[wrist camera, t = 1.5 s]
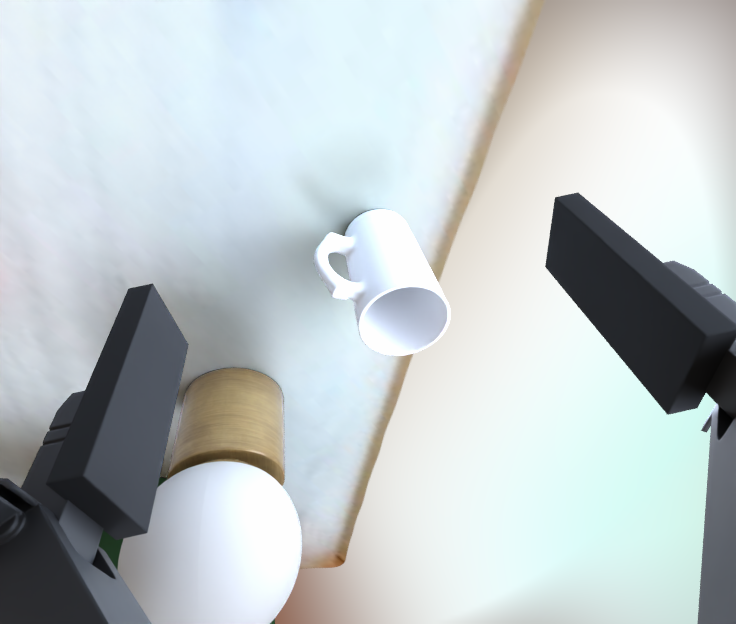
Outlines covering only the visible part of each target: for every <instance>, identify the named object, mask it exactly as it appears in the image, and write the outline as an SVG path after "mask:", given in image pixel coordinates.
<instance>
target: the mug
mask: <svg viewBox="0 0 736 624" xmlns="http://www.w3.org/2000/svg"><path fill="white" fill-rule="evenodd" d="M332 252H334V253H339V254H342V255H344V256H346V262H347V267H348V273H349V278H350V281H348V280H345V279H343V278H342V277H340V276H339V275H338V274H337V273H336V272H335V271H334V270H333V269H332V268H331V266H330V265H329V262H328V254H329V253H332ZM314 264H315V268H316V270H317V272H318V274H319V276H320V278H321V279H322V281H323V282H324V284H325V285H326V286H327V288H328V289H329V291H330V293H331V297H332V298H337V299H342V300H346V299H347V298H349V299H351V300H353V301H354V307H355V313H356V318H357V323H358V329H359V334H360V336H361V338H362V340H363V342H364V343H365V344H366V345H367V346H368V347H369V348H371V349H372V350H374V351H376V352H378V353H381V354H385V355H391V356H402V355H409V354H413V353H416V352H419V351H421V350H423V349H425V348H427V347H429V346H431V345H432V344H433V343H435V342H436V341H437V340H438V339H439V338H440V337H441V336H442V335H443V334H444V332H445V330H446V329H447V327H448V324H449V321H450V307H449V304H448V302H447V300H446V299H445V297H444V294H443V292H442V290H441V288H440V286H439V284H438V282H437V280H436V278H435V276H434V274H433V272H432V271H431V269H430V267H429V265H428V263H427V261H426V259H425V257H424V255H423V253H422V251H421V249H420V247H419V245H418V243H417V241H416V239H415V238H414V236H413V234H412V232H411V230H410V228H409V226H408V224H407V223H406V221H405V220H404V219H403V218H402V217H401V216H400V215H398V214H397V213H395V212H393V211H390V210H385V209H375V210H370V211H367V212H365V213H363V214H361V215H359V216H358V217H356V218H355V219H354V220H353V221H352V222H351V223H350V225H349V226H348V228H347V230H346V233H345V236H341V235H339V234H336V233H332V232H330V233H328V234H327V235H326V237H325V238H324V239H323V241H322V242H321V243H320V244H319V246H318V247H317V249H316V251H315V254H314Z"/></svg>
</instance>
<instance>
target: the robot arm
mask: <svg viewBox="0 0 736 624" xmlns="http://www.w3.org/2000/svg"><path fill="white" fill-rule="evenodd" d="M545 267H546V268H547V269H548V270H549V272H550V273H551V274H552V275H553V277H554V278H555V279H556V280H557V281H558V283H559V284H560V285H561V286H562V288H563V289H564V290H565V291H566V292H567V294H568V295H569V296H570V297H571V298H572V300H573V301H574V302H575V303H576V304H577V306H578V307H579V308H580V309H581V310H582V312H583V313H584V314H585V315H586V316H587V318H588V319H589V320H590V321H591V323H592V324H593V325H594V326H595V327H596V329H597V330H598V331H599V332H600V333H601V335H602V336H603V337H604V338H605V339H606V341H607V342H608V343H609V344H610V346H611V347H612V348H613V349H614V350H615V351H616V353H617V354H618V355H619V356H620V358H621V359H622V360H623V361H624V362H625V363H626V365H627V366H628V367H629V368H630V370H632V372H633V373H634V375H635V376H636V377H637V378H638V379H639V381H640V382H641V383H642V384H643V385H644V387H646V389H647V390H648V391H649V393H650V394H651V395H652V396H653V397H654V399H655V400H656V401H657V402H658V403H659V405H660V406H661V407H662V408H663V410H664V411H665V412H666V413H667V414H673V413H677V412H682V411H686V410H690V409H695V408H697V407H698V406H699V404H700V402H701V400H702V398H703V397H704V395H705V393H707V394H708V395H709V396H710V397H711V398H712V399H713V400H714V401H715V402H716V405H715V407H714V408H713V410H712V412H711V413H710V415H709V417H708V418H707V420H706V422H705V424H704V426H703V428H702V431H704V432H707V431H708V429H709V428H710V426H711V435H710V451H709V465H708V466H709V467H708V480H707V495H706V509H705V524H704V539H703V554H702V568H701V583H700V598H699V612H698V624H736V302H735V301H733V300H732V299H731V298H730V297H728V296H727V295H726V294H722V293H721V290H719V289H718V288H717V287H716V286H714V285H713V284H709V281H708V280H706V279H705V278H704V277H703V276H702V275H700V274H699V273H697V272H696V271H695V270H694V269H691V268H689V267H687V266H684V265H682V264H680V263H678V262H675V261H670V262H665V263H662V262H661V261H660V260H659V259H657V258H656V257H655V256H654V255H653V254H651V253H650V252H649V251H648V250H646V249H645V248H644V247H643V246H642V245H640V244H639V243H638V242H637V241H636V240H634V239H633V238H632V237H631V236H629V235H628V234H627V233H626V232H625V231H624V230H622V229H621V228H620V227H619V226H617V225H616V224H615V223H614V222H613V221H611V220H610V219H609V218H608V217H607V216H605V215H604V214H603V213H602V212H601V211H600V210H598V209H597V208H596V207H595V206H593V205H592V204H591V203H590V202H589V201H588V200H586V199H585V198H584V197H583V196H581V195H580V194H579V193H574V194H569V195H565V196H560V197H556V198H555V202H554V209H553V216H552V224H551V230H550V238H549V245H548V252H547V259H546V266H545ZM187 349H188V343H187V341H186V340H185V338H184V336H183V334H182V333H181V331H180V329H179V328H178V326H177V324H176V323H175V321H174V319H173V317H172V316H171V314H170V312H169V311H168V309H167V307H166V306H165V304H164V302H163V300H162V299H161V297H160V295H159V294H158V292H157V290H156V289H155V287H154V285H153V284H149V285H144V286H139V287H135V288H130V289H128V291H127V294H126V296H125V298H124V301H123V303H122V305H121V308H120V310H119V312H118V315H117V317H116V320H115V322H114V324H113V327H112V329H111V331H110V334H109V336H108V338H107V341H106V343H105V345H104V348H103V350H102V352H101V355H100V357H99V359H98V362H97V364H96V366H95V369H94V371H93V374H92V376H91V378H90V381H89V383H88V385H87V388H86V390H85V391H82V392H77V393H73V394H71V396H70V397H69V398H68V399H67V400H66V401H65V402H64V404H63V405H62V406H61V407H60V408H59V409H58V411H57V413H56V415H55V417H54V419H53V421H52V423H51V425H50V428H49V429H50V431H48V432H47V434H46V436H45V438H44V440H43V446H41V447H40V449H39V451H38V453H37V455H36V458H35V460H34V462H33V464H32V466H31V468H30V470H29V473H28V475H27V477H26V479H25V481H24V483H23V485H22V488H19V487H18V486H17V485H15V484H14V483H13V482H11V481H10V480H9V479H3V478H0V624H152V623H151V622H150V620H149V619H148V617H147V616H146V614H145V613H144V611H143V609H142V608H141V606H140V605H139V603H138V602H137V600H136V599H135V597H134V595H133V594H132V592H131V591H130V589H129V588H128V586H127V585H126V583H125V581H124V580H123V578H122V577H121V575H120V574H119V572H118V571H117V569H116V568H115V566H114V564H113V563H112V561H111V560H110V558H109V557H108V555H107V554H106V552H105V551H104V550H103V549H101V548H100V547H99V542H100V539H101V536H102V532H103V530H104V531H105V532H106V533H108V534H109V535H110V536H111V537H113V538H114V539H115V540H119V539H124V538H128V537H132V536H137V535H141V534H146V533H147V532H148V528H149V523H150V519H151V514H152V509H153V505H154V500H155V496H156V491H157V487H158V482H159V477H160V473H161V468H162V464H163V459H164V454H165V450H166V445H167V441H168V436H169V432H170V427H171V422H172V418H173V413H174V409H175V404H176V399H177V395H178V390H179V386H180V381H181V377H182V372H183V367H184V363H185V358H186V354H187Z"/></svg>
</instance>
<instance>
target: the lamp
mask: <svg viewBox="0 0 736 624" xmlns="http://www.w3.org/2000/svg"><path fill="white" fill-rule="evenodd" d="M284 480H285V444H284V396H283V393H282V390H281V389H280V387H279V386H278V384H277V383H276V382H275V381H274V380H272V379H271V378H270V377H268V376H266V375H264V374H262V373H260V372H257V371H254V370H250V369H243V368H224V369H218V370H214V371H211V372H208V373H206V374H204V375H202V376H200V377H198V378H197V379H196V380H194V381H193V382H192V383H191V384H190V385H189V387H188V388H187V390H186V392H185V395H184V399H183V404H182V409H181V413H180V418H179V423H178V428H177V432H176V437H175V442H174V447H173V452H172V456H171V461H170V466H169V471H168V475H167V480H166V481H165V482H164V483H162V484H161V485H160V486H159V487H158V488H157V491H156V496H155V500H154V505H153V509H152V514H151V519H150V523H149V528H148V532H147V533H146V534H141V535H137V536H132V537H128V538H124V539H123V543H122V546H121V550H120V555H119V560H118V572H119V574H120V575H121V577H122V578H123V580H124V581H125V583H126V585H127V586H128V588H129V589H130V591H131V592H132V594H133V595H134V597H135V599H136V600H137V602H138V603H139V605H140V606H141V608H142V609H143V611H144V613H145V614H146V616H147V617H148V619H149V620H150V622H151V623H152V624H270V623H271V622H272V621H273V620H274V618H275V617H276V616H277V614H278V613H279V612H280V610H281V609H282V607H283V606H284V604H285V602H286V601H287V599H288V597H289V595H290V593H291V591H292V589H293V586H294V583H295V581H296V578H297V574H298V571H299V567H300V562H301V553H302V535H301V527H300V522H299V518H298V515H297V512H296V509H295V507H294V504H293V502H292V500H291V499H290V497H289V495H288V494H287V492H286V491H285V490H284V488H283V487H282V486H283V483H284Z"/></svg>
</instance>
